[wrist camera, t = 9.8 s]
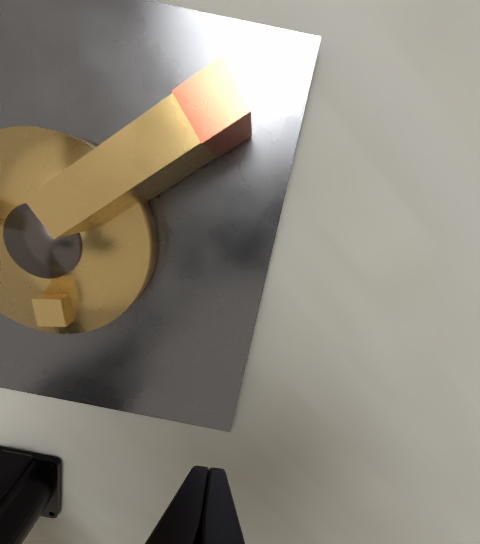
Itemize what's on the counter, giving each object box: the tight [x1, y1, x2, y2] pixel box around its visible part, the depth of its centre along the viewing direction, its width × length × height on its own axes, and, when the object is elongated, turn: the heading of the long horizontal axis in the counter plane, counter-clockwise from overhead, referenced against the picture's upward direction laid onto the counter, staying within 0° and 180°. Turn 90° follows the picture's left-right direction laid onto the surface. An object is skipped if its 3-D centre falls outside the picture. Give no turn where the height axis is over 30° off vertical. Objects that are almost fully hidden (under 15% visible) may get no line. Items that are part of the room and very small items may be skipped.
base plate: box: [0, 0, 321, 432], centre depth 17 cm, size 24×24×1 cm
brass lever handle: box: [0, 55, 252, 334], centre depth 13 cm, size 12×16×5 cm
